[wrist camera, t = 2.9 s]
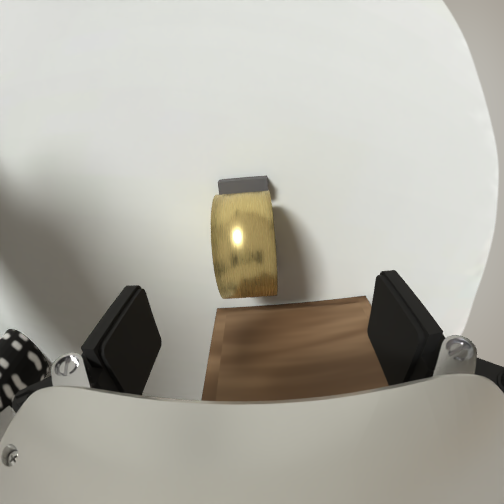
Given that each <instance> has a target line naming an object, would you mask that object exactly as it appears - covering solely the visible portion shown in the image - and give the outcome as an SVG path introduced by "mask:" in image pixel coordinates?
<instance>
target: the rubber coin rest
mask: <svg viewBox="0 0 504 504" xmlns="http://www.w3.org/2000/svg"><path fill="white" fill-rule="evenodd" d="M218 188H219V195H222V194H233V193H245V192H257V191H268V181H267V176H256V177H244V178H233V179H222V180H219V182H218Z"/></svg>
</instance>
